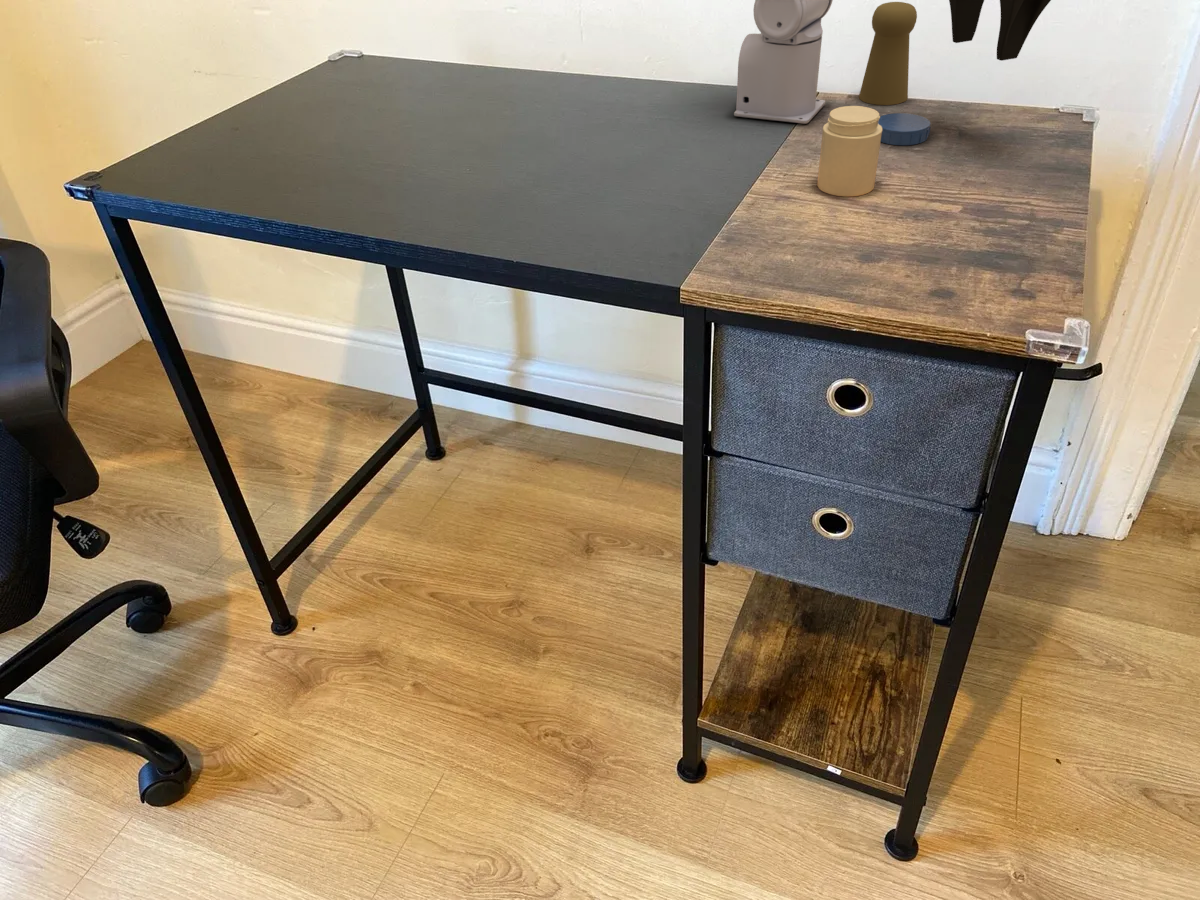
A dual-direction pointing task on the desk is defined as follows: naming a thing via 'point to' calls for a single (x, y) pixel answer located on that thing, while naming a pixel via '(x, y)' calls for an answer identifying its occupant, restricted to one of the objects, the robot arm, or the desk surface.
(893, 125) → the lid
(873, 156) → the jar
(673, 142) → the desk surface
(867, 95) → the olive cone figure
